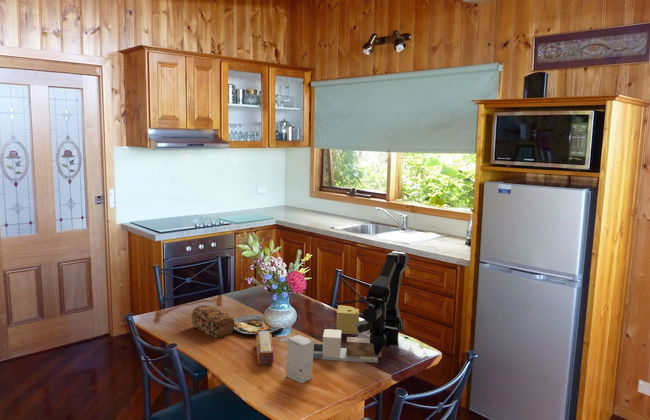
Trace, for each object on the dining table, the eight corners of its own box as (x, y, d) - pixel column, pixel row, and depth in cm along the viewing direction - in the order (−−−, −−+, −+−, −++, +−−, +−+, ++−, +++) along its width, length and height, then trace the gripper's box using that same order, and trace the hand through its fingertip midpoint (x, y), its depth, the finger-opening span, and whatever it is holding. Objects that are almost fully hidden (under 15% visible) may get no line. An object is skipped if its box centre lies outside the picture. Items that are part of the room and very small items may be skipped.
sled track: (377, 352, 222) (378, 331, 221) (377, 362, 212) (378, 340, 211) (312, 348, 224) (313, 327, 222) (310, 358, 214) (311, 337, 213)
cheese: (359, 326, 250) (360, 306, 249) (358, 335, 240) (359, 314, 238) (336, 325, 251) (337, 304, 250) (335, 334, 241) (335, 312, 239)
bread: (191, 327, 243) (190, 306, 242) (210, 322, 251) (210, 301, 249) (215, 339, 231) (215, 317, 229) (235, 333, 238) (235, 311, 237)
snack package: (274, 366, 206) (274, 350, 205) (256, 367, 205) (257, 350, 204) (271, 344, 227) (271, 329, 226) (255, 345, 226) (255, 329, 225)
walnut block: (381, 351, 219) (381, 338, 218) (381, 356, 214) (382, 343, 213) (346, 349, 220) (347, 336, 219) (346, 354, 215) (346, 341, 214)
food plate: (294, 329, 245) (294, 321, 244) (253, 342, 228) (253, 334, 228) (260, 316, 262) (260, 309, 262) (220, 327, 246) (219, 320, 245)
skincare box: (285, 376, 198) (286, 338, 195) (296, 371, 202) (297, 333, 200) (302, 384, 192) (303, 344, 190) (313, 378, 197) (314, 339, 195)
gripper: (358, 306, 224) (356, 342, 226) (357, 322, 206) (356, 360, 208) (385, 307, 223) (383, 343, 226) (387, 323, 205) (385, 362, 207)
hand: (376, 352), depth 217 cm, fingers open, 6 cm apart
